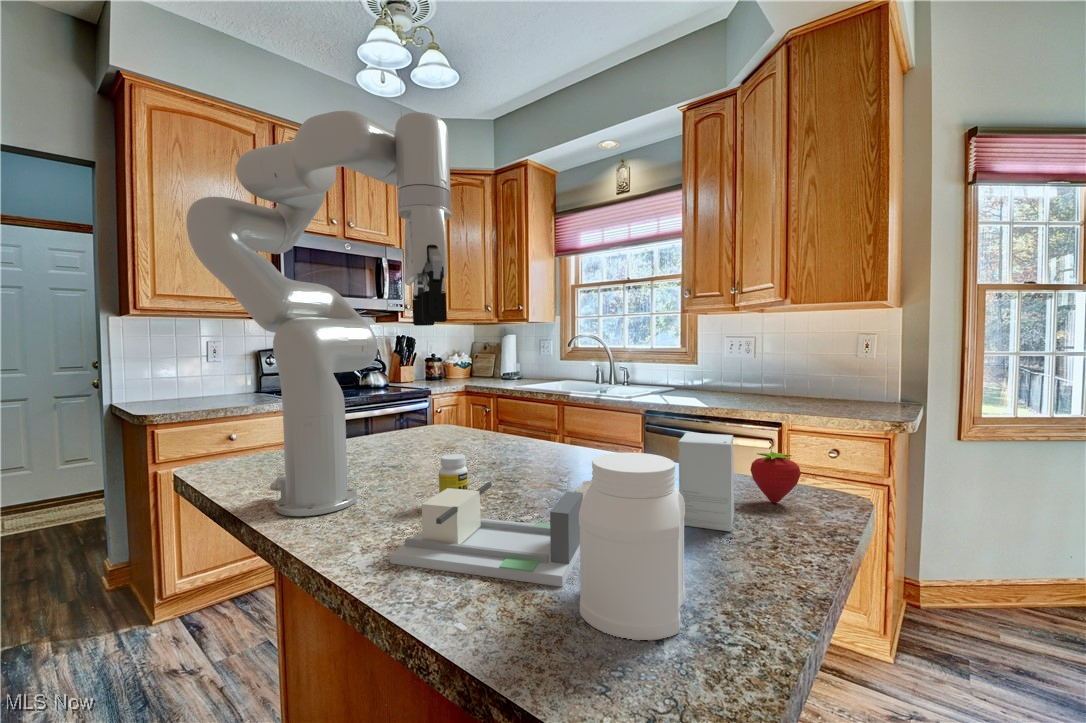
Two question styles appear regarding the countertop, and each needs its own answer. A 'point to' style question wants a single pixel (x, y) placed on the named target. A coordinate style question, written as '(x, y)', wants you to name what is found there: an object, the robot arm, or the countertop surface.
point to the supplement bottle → (453, 472)
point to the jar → (632, 547)
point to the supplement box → (707, 480)
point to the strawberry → (775, 475)
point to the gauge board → (506, 548)
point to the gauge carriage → (452, 515)
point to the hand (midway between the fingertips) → (429, 323)
